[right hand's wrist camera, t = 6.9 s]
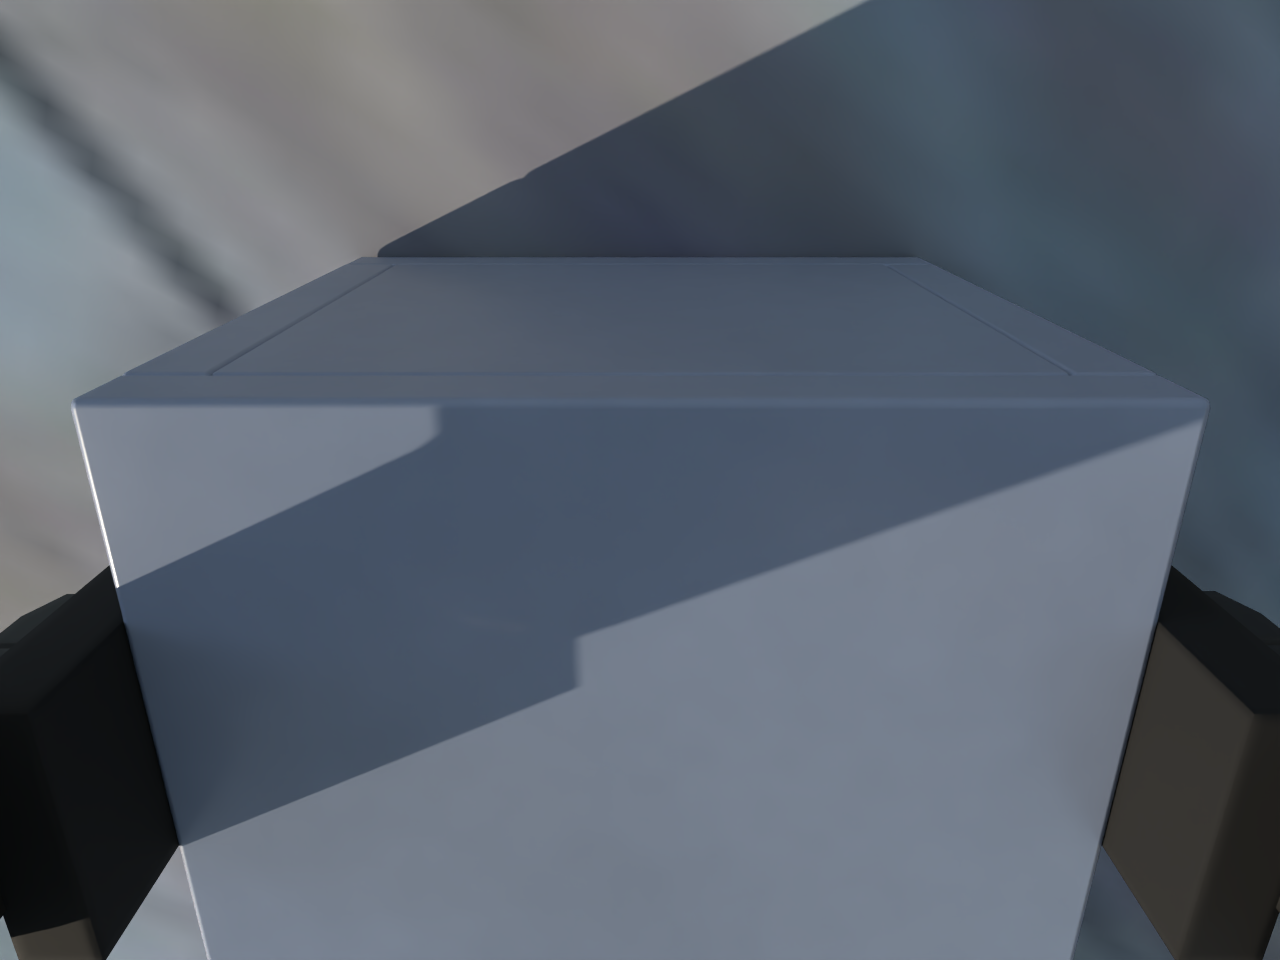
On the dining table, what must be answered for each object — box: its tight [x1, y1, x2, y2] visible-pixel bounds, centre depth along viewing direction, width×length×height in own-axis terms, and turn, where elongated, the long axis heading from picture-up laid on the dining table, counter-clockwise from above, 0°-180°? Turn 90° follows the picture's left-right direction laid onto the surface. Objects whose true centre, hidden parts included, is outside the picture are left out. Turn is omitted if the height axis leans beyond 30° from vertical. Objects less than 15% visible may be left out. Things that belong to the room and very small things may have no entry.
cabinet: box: [71, 257, 1210, 960], centre depth 15 cm, size 20×10×8 cm, turn 0°
